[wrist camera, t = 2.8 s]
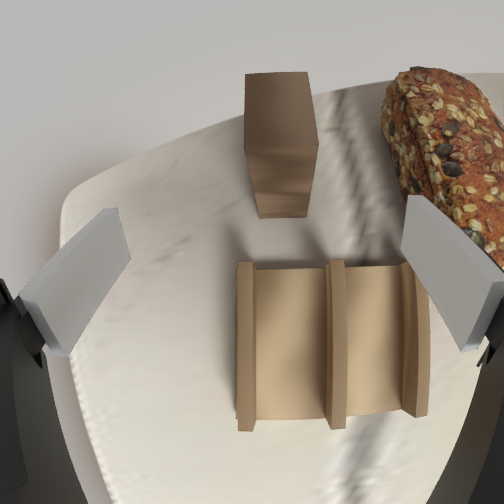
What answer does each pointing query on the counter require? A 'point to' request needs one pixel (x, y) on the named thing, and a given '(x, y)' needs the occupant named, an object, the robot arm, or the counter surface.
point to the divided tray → (330, 343)
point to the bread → (449, 151)
